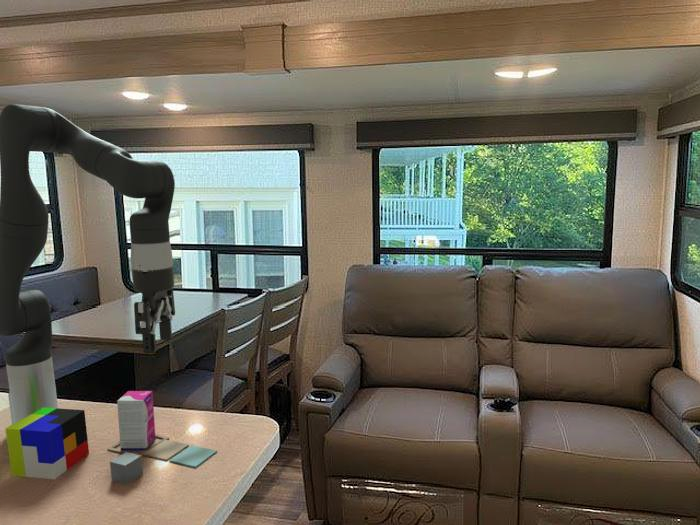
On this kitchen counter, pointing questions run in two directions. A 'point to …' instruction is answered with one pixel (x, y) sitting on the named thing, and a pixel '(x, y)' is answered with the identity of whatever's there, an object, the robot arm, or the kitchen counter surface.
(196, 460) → the track
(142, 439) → the supplement box
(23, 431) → the puzzle toy
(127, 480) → the cube
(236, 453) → the kitchen counter surface
